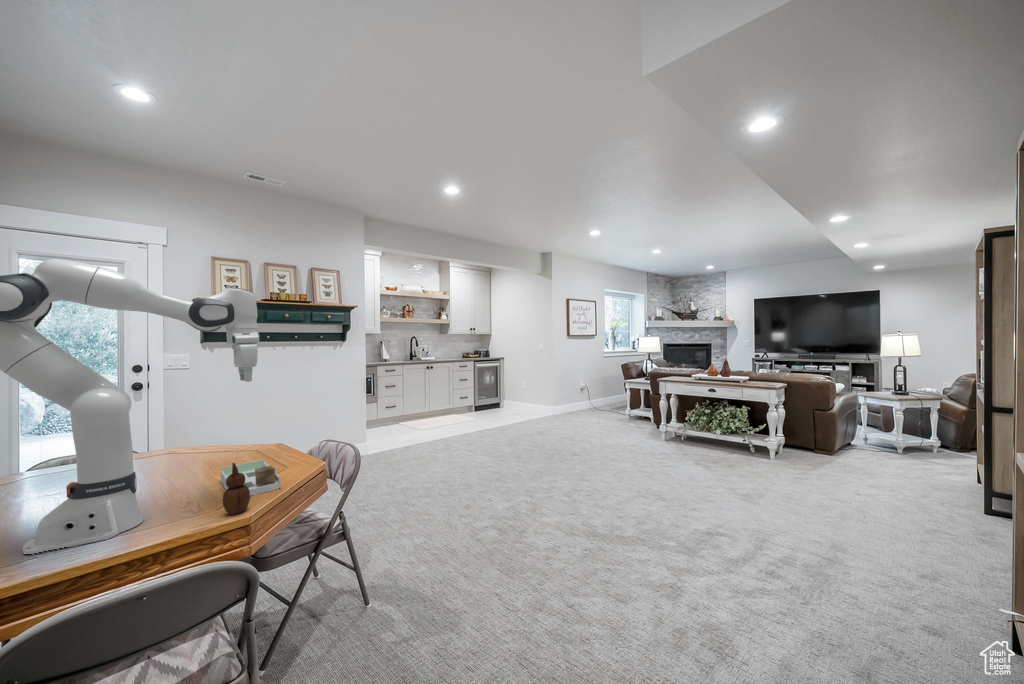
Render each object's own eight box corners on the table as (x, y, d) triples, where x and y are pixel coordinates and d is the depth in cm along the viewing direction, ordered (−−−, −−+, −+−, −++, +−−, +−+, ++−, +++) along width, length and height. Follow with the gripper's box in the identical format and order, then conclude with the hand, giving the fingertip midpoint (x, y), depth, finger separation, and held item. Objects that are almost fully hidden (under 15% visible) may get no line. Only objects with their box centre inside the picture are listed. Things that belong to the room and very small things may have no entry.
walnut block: (258, 486, 138) (257, 471, 138) (255, 483, 141) (255, 468, 141) (275, 483, 141) (274, 468, 141) (272, 479, 145) (271, 465, 145)
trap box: (231, 500, 132) (230, 484, 132) (221, 481, 153) (220, 467, 153) (280, 488, 141) (279, 473, 141) (264, 472, 162) (264, 459, 162)
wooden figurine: (239, 516, 118) (236, 464, 118) (219, 517, 118) (216, 464, 118) (254, 507, 125) (252, 457, 125) (235, 508, 125) (233, 458, 125)
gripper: (227, 340, 140) (230, 381, 140) (236, 337, 125) (239, 383, 125) (249, 339, 144) (251, 379, 144) (260, 336, 129) (263, 381, 129)
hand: (245, 381), depth 134 cm, fingers open, 8 cm apart
